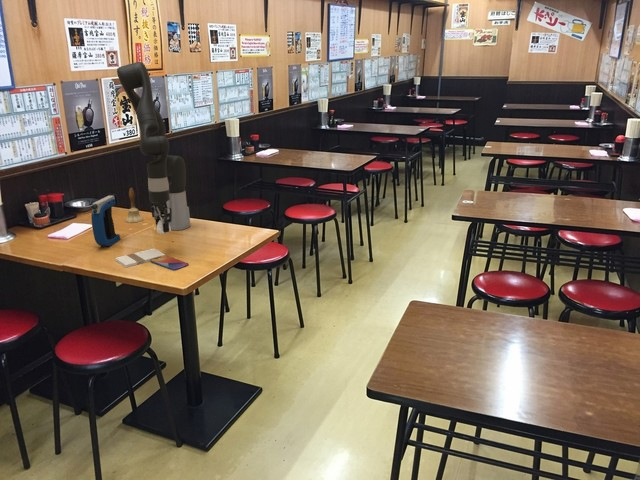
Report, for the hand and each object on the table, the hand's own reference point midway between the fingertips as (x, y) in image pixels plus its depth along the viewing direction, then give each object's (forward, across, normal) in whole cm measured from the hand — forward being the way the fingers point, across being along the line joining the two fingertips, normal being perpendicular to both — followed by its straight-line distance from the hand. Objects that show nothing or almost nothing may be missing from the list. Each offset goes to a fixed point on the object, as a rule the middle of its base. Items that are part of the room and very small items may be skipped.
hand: (162, 230), depth 205 cm
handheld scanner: (+10, +26, +12) cm, 30 cm away
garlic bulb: (+1, 0, 0) cm, 1 cm away
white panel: (+9, 0, +10) cm, 14 cm away
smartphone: (+10, -12, +4) cm, 17 cm away
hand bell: (+9, +51, -10) cm, 53 cm away
